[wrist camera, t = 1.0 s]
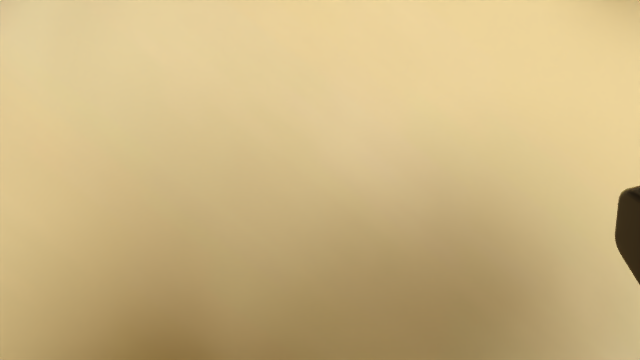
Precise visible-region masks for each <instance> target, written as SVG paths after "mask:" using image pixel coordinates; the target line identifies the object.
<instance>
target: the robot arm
mask: <svg viewBox="0 0 640 360" xmlns="http://www.w3.org/2000/svg"><path fill="white" fill-rule="evenodd" d="M615 241H616V245H617V248H618V250H619V252H620V254H621V255H622V257H623V259H624V260H625V262H626V264H627V265H628V267H629V268H630V270H631V272H632V273H633V275H634V276H635V278H636V280H637V281H638V283H639V284H640V186H636V187H632V188H628V189H626V190H624V191H623V192H622V193H621V195H620V196H619V202H618V211H617V220H616V229H615Z"/></svg>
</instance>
